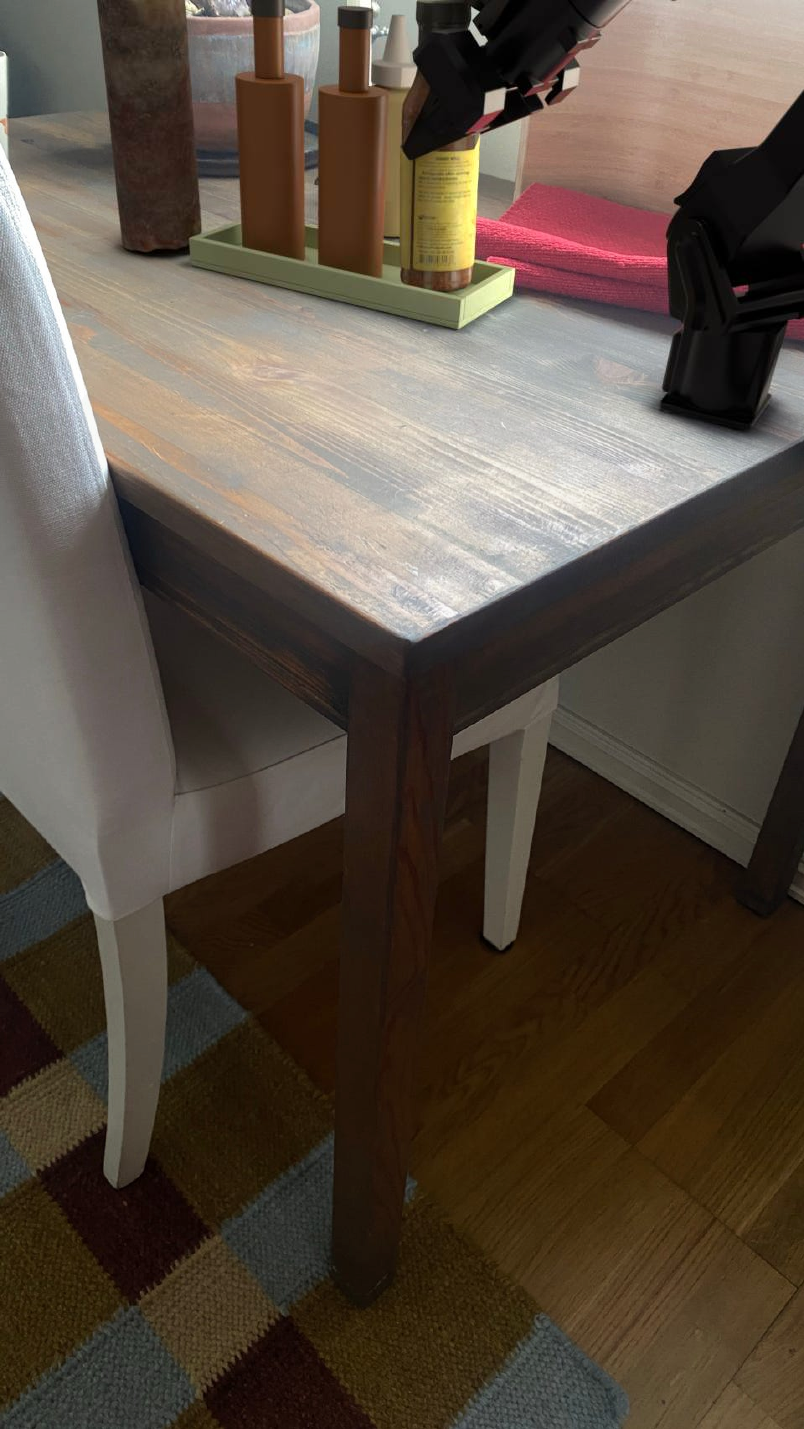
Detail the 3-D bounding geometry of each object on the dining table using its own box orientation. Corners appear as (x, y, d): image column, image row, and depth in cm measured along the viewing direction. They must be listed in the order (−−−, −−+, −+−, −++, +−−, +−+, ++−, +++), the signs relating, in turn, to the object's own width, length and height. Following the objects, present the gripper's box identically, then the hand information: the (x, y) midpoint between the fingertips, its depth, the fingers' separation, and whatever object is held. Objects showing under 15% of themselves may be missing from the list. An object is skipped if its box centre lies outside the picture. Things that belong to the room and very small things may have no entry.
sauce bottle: (487, 287, 88) (512, 2, 75) (436, 301, 84) (454, 6, 72) (430, 268, 91) (446, -7, 79) (379, 282, 88) (387, -4, 75)
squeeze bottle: (357, 216, 108) (363, 7, 96) (434, 224, 107) (449, 14, 95) (341, 237, 101) (344, 16, 90) (422, 245, 101) (436, 24, 89)
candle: (140, 230, 100) (114, -25, 87) (214, 238, 99) (199, -18, 86) (109, 252, 94) (77, -18, 81) (187, 260, 93) (167, -10, 80)
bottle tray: (512, 295, 90) (544, 23, 78) (458, 329, 83) (484, 35, 70) (259, 238, 100) (251, -14, 87) (190, 265, 92) (170, -7, 80)
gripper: (563, -118, 76) (421, 44, 87) (449, -125, 63) (299, 67, 74) (646, 22, 78) (497, 163, 89) (552, 43, 65) (391, 206, 76)
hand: (426, 148), depth 82 cm, fingers closed on sauce bottle, 6 cm apart
